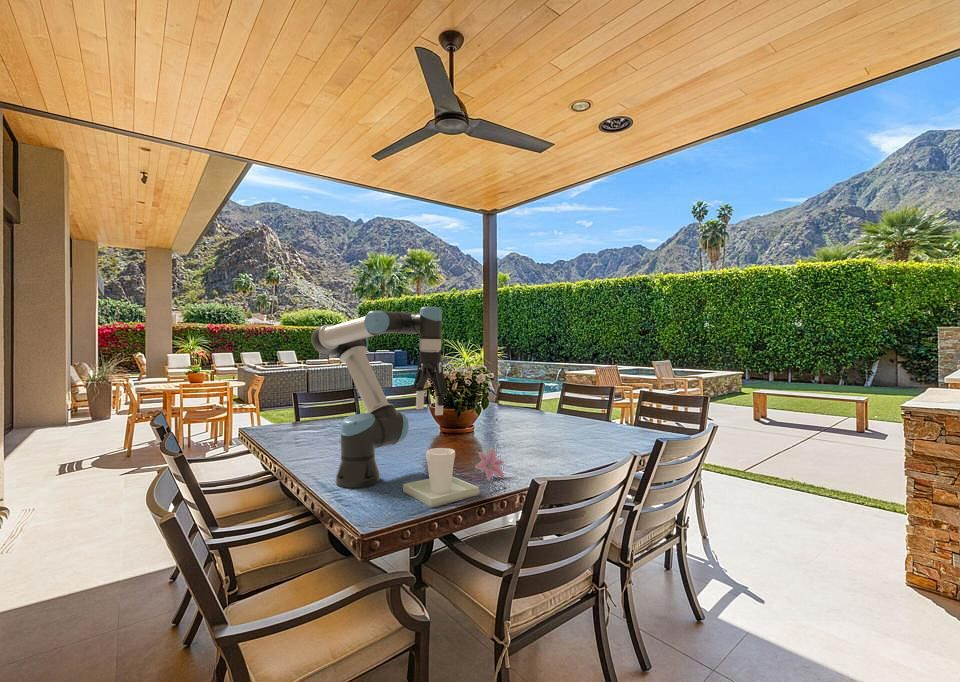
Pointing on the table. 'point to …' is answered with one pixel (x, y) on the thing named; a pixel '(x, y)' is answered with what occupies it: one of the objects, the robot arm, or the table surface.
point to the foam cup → (440, 469)
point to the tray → (424, 494)
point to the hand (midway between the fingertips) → (429, 411)
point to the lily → (490, 464)
